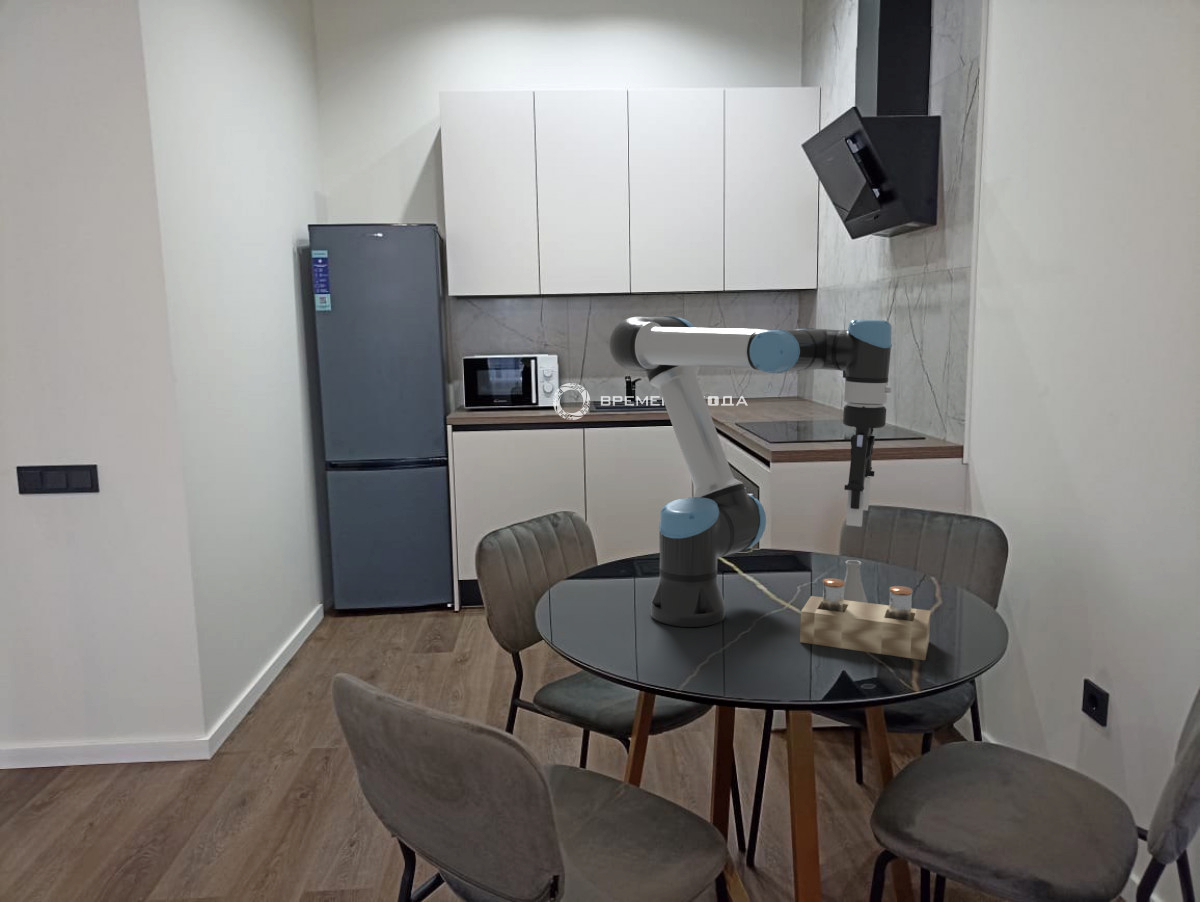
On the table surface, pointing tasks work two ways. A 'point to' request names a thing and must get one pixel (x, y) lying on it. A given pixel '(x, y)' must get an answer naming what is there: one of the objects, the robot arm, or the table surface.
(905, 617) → the peg right
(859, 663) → the table surface
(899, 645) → the oak block
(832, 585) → the peg left
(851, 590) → the flask
